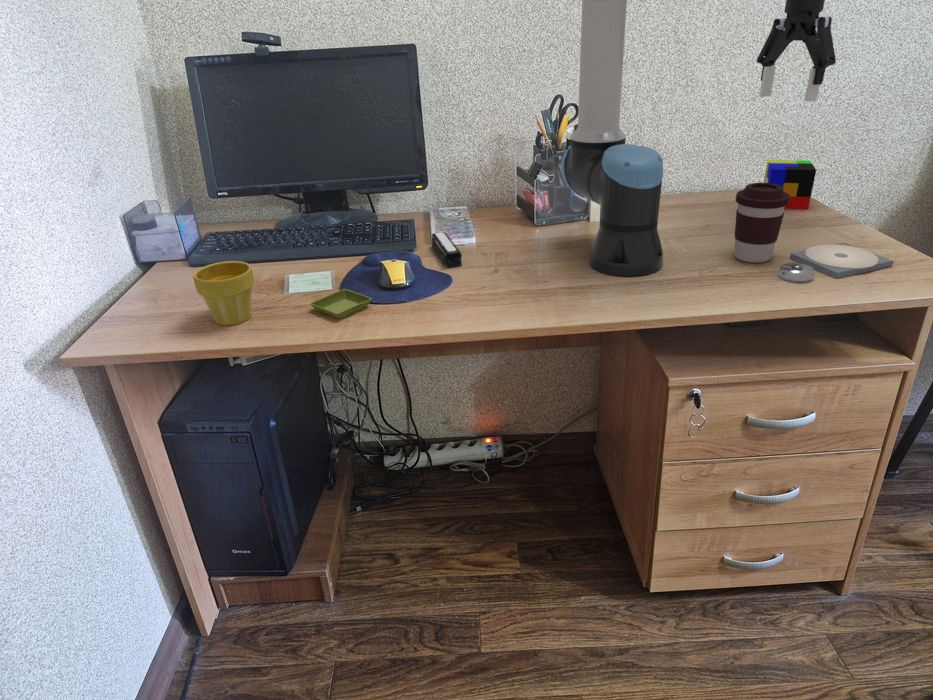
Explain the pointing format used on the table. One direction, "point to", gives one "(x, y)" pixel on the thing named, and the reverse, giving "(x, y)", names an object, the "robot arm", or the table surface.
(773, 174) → the puzzle toy
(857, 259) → the disc case
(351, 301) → the green rectangular tray
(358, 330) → the table surface
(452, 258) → the white-topped black block
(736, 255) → the coffee cup
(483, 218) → the table surface
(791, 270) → the grey rounded disc
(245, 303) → the plant pot
